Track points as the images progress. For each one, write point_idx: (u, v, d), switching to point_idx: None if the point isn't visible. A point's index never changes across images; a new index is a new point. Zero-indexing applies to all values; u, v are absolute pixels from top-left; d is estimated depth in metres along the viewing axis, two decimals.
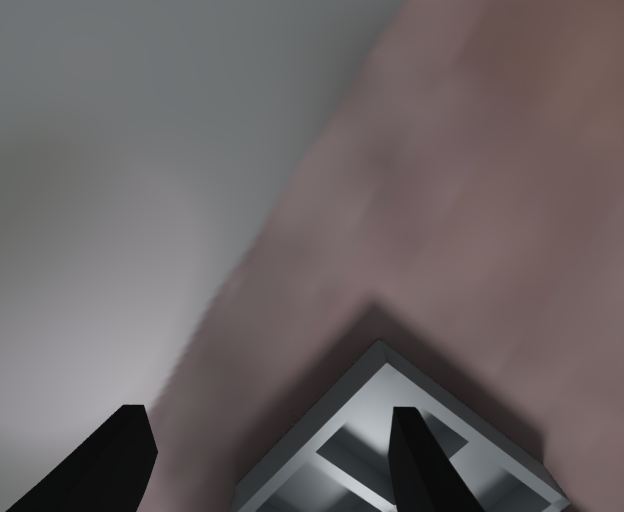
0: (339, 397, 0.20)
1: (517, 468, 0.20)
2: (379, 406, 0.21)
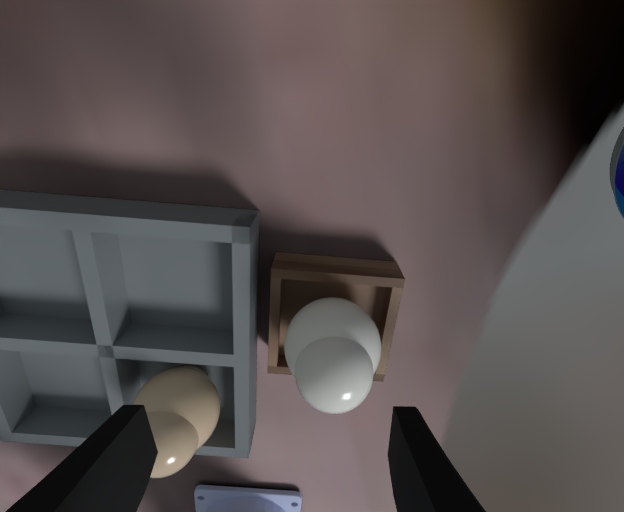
0: None
1: (150, 226, 0.15)
2: (27, 256, 0.18)
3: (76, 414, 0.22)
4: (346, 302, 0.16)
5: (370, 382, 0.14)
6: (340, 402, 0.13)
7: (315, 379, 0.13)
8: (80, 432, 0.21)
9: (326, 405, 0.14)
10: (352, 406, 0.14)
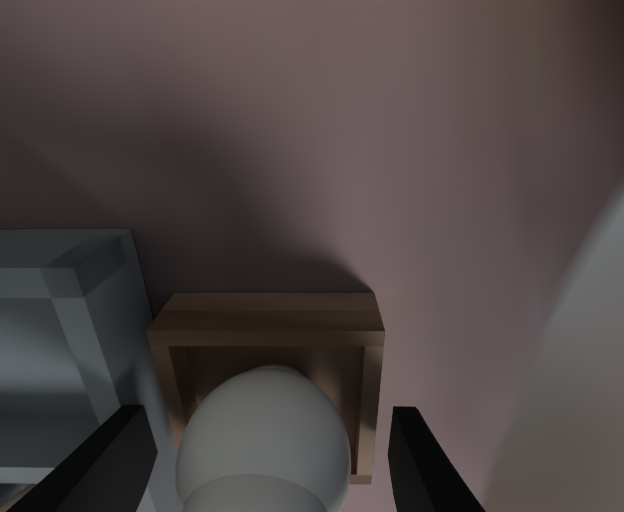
0: None
1: None
2: None
3: None
4: (279, 383, 0.09)
5: None
6: None
7: None
8: None
9: None
10: None
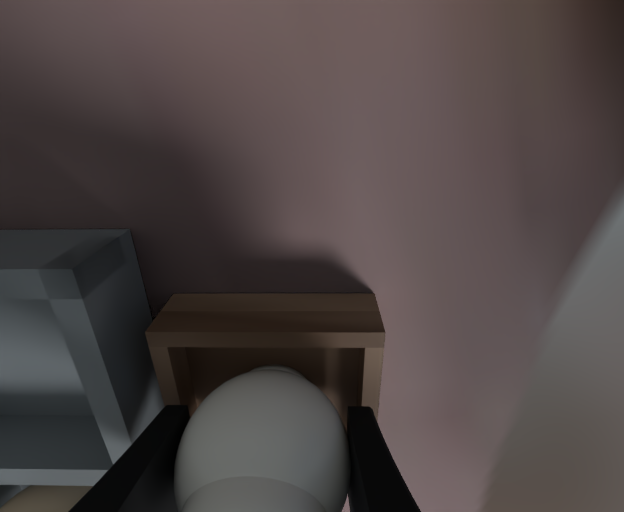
0: None
1: None
2: None
3: None
4: (279, 385, 0.09)
5: None
6: None
7: None
8: None
9: None
10: None
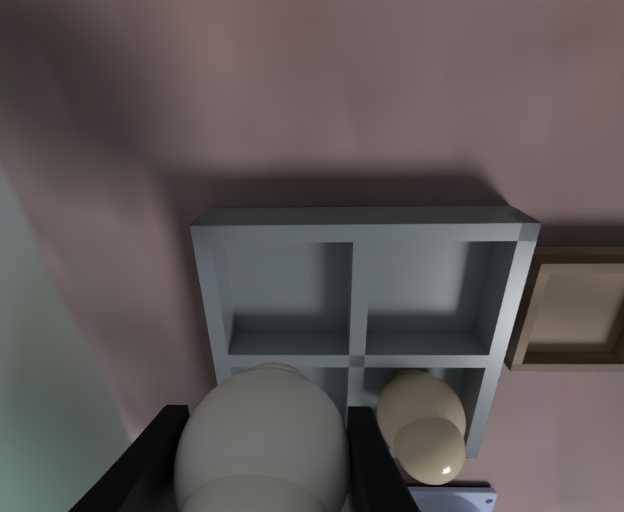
0: None
1: (435, 231, 0.15)
2: (268, 272, 0.18)
3: None
4: (280, 383, 0.09)
5: None
6: None
7: None
8: None
9: None
10: None
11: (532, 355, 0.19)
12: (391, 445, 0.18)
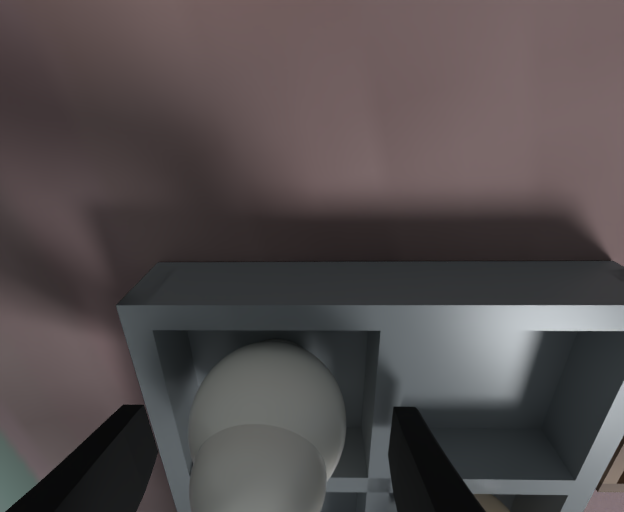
0: None
1: (515, 315, 0.09)
2: None
3: None
4: (282, 351, 0.10)
5: (316, 505, 0.08)
6: None
7: None
8: None
9: None
10: None
11: None
12: None
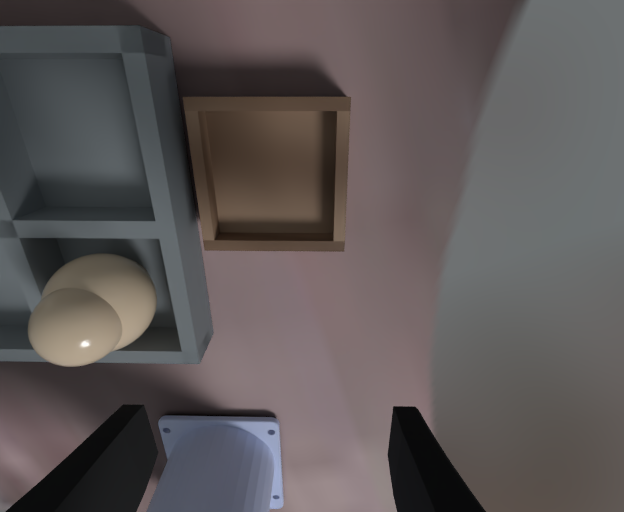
0: None
1: (17, 36, 0.12)
2: None
3: (6, 330, 0.19)
4: None
5: None
6: None
7: None
8: (6, 345, 0.18)
9: None
10: None
11: (237, 234, 0.16)
12: None
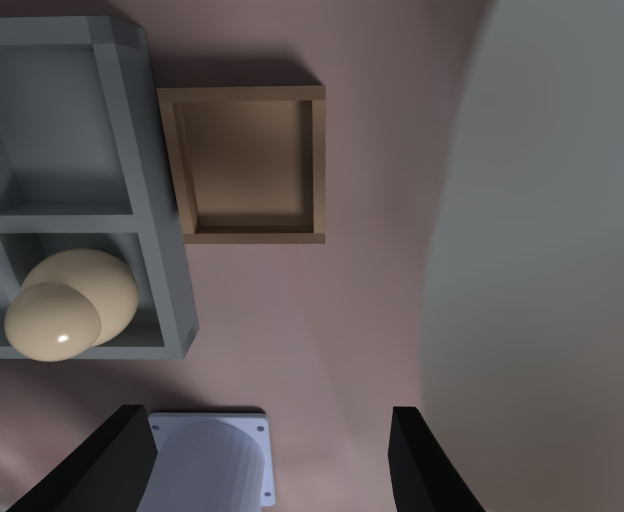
0: None
1: None
2: None
3: None
4: None
5: None
6: None
7: None
8: None
9: None
10: None
11: (218, 228, 0.16)
12: None
